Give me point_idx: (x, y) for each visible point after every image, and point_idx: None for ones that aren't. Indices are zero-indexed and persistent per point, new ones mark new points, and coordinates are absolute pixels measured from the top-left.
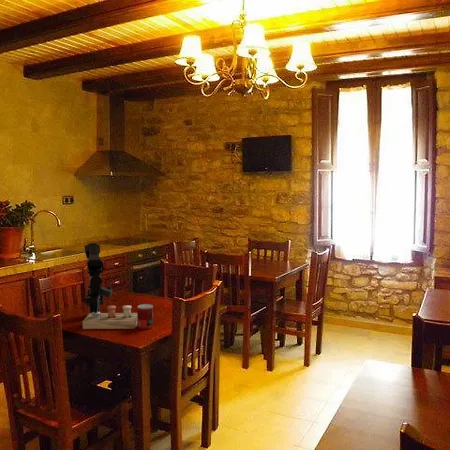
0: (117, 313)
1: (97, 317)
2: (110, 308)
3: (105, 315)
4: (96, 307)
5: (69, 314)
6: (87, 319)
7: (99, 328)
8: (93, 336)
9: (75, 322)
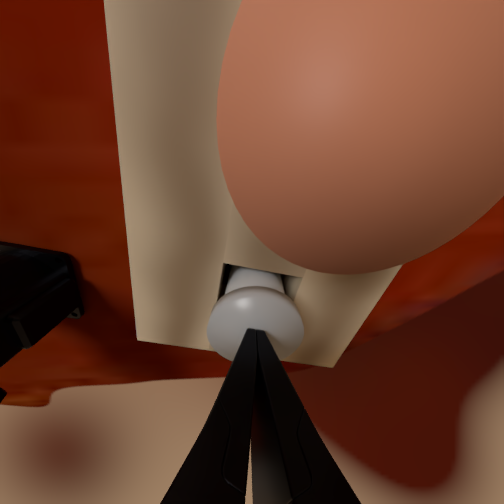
0: (129, 41)
1: (284, 293)
2: (501, 172)
3: (215, 224)
4: (299, 410)
5: (52, 376)
6: (301, 347)
7: None
8: (488, 275)
9: (188, 353)
